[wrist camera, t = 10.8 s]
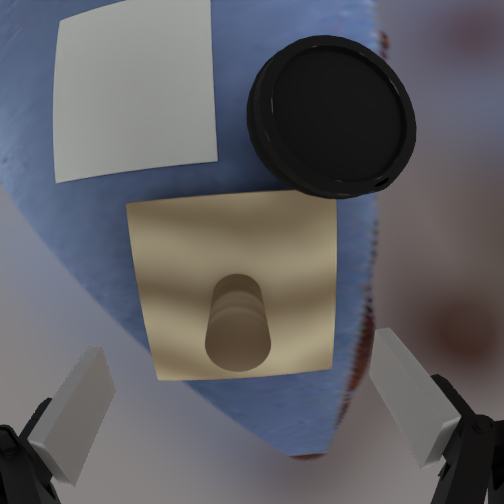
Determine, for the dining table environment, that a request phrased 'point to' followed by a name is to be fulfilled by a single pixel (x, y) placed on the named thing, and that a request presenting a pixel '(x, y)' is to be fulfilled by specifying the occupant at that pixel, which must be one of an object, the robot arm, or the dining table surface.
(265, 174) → the dining table surface
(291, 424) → the dining table surface
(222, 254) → the lid
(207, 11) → the mat
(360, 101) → the coffee cup
